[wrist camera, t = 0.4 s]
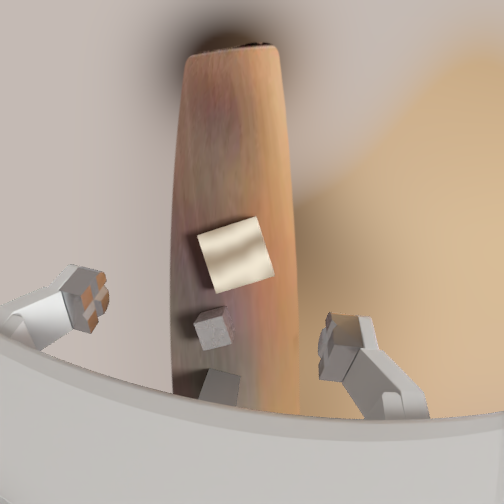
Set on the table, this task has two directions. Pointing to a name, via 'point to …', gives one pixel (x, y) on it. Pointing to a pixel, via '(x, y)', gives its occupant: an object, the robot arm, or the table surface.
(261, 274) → the cream square dish
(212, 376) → the perfume bottle
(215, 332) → the grey block
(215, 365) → the table surface
